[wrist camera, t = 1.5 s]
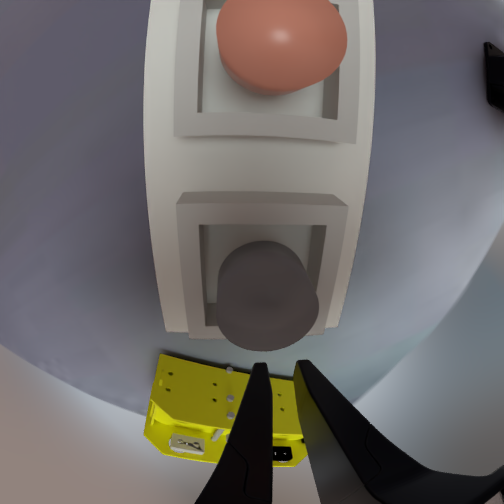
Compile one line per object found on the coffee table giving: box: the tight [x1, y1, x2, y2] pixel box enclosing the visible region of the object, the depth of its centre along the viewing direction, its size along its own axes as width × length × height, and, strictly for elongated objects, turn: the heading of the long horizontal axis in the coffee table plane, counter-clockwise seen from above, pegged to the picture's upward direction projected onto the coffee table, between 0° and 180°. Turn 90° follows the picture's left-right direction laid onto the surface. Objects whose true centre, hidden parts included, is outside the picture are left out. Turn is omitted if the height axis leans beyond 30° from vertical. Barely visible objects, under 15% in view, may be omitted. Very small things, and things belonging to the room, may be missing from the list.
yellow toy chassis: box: [144, 354, 308, 467], centre depth 22 cm, size 16×6×8 cm, turn 68°
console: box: [144, 0, 375, 339], centre depth 14 cm, size 12×22×5 cm, turn 178°
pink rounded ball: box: [216, 0, 347, 96], centre depth 8 cm, size 4×4×3 cm
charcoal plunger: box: [216, 241, 319, 351], centre depth 13 cm, size 4×4×3 cm
